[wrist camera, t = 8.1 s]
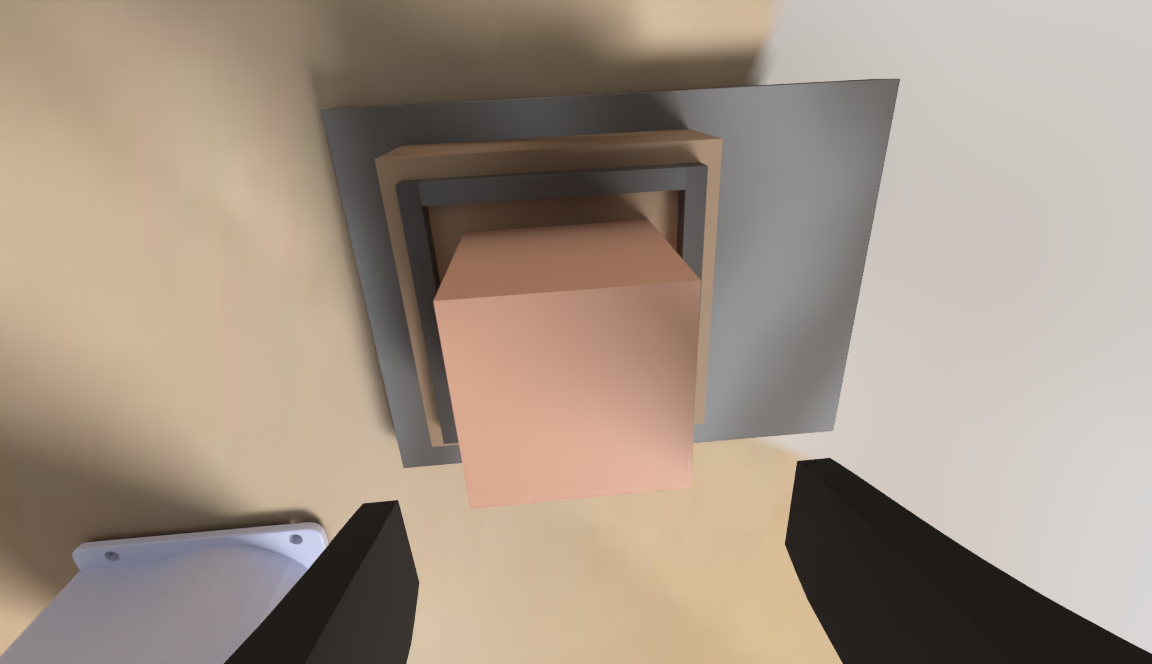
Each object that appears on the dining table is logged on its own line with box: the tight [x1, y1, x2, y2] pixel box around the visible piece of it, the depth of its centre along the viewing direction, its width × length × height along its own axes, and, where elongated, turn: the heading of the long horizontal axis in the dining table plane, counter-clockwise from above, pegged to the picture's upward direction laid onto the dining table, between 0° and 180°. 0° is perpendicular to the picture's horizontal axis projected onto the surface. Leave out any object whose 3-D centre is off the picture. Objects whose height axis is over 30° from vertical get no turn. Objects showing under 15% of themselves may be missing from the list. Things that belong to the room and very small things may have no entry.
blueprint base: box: [321, 79, 900, 468], centre depth 16 cm, size 16×12×5 cm
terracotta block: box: [433, 219, 701, 508], centre depth 12 cm, size 4×4×4 cm
